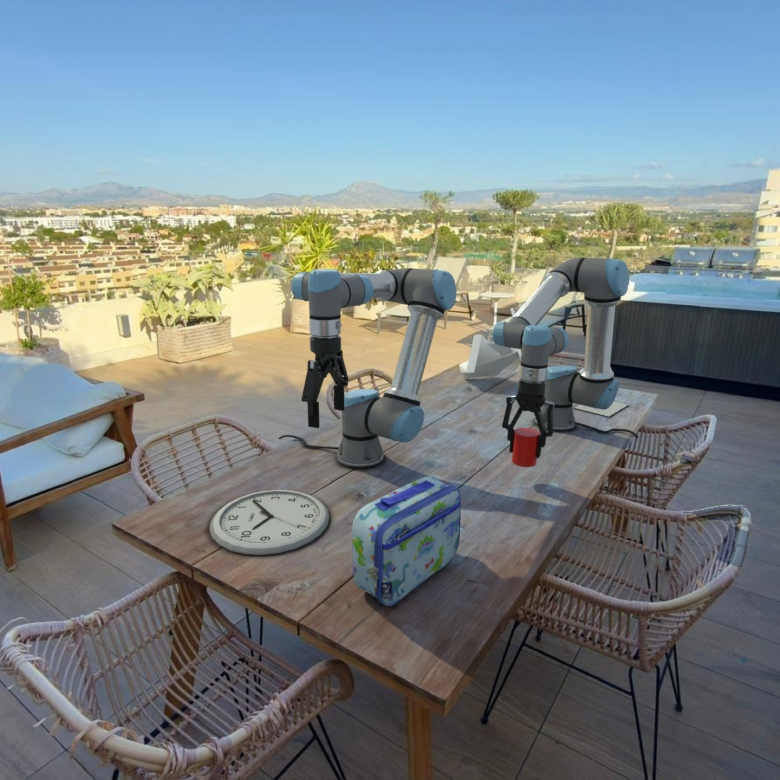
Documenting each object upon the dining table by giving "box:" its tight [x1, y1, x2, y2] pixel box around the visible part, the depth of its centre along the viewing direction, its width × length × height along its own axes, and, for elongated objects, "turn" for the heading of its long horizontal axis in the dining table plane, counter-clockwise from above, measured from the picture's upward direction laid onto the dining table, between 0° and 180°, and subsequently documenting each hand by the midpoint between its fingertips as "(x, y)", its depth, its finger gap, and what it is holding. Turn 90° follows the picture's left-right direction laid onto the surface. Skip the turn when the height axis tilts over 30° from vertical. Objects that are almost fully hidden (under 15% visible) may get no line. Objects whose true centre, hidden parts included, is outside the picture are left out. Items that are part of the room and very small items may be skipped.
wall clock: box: [209, 489, 330, 556], centre depth 135 cm, size 30×2×30 cm
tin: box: [511, 427, 540, 468], centre depth 156 cm, size 7×7×10 cm
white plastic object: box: [458, 307, 522, 379], centre depth 256 cm, size 37×45×31 cm
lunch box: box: [351, 476, 462, 607], centre depth 111 cm, size 26×11×21 cm, turn 135°
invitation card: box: [573, 400, 629, 418], centre depth 226 cm, size 21×1×15 cm
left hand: (327, 418), depth 132 cm, fingers open, 13 cm apart
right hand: (524, 453), depth 156 cm, fingers closed on tin, 7 cm apart
